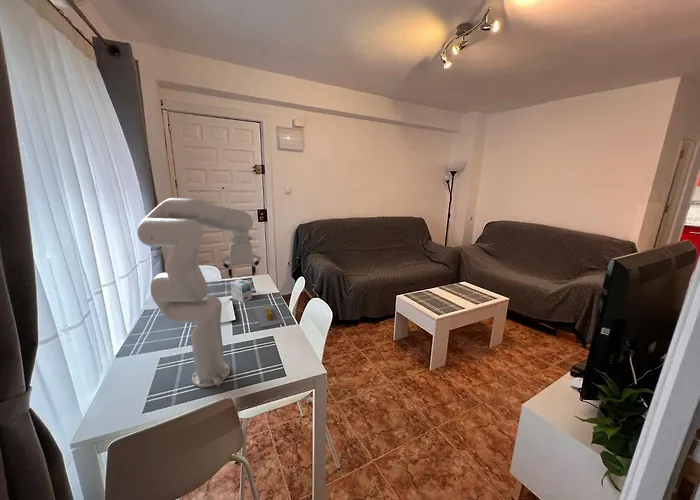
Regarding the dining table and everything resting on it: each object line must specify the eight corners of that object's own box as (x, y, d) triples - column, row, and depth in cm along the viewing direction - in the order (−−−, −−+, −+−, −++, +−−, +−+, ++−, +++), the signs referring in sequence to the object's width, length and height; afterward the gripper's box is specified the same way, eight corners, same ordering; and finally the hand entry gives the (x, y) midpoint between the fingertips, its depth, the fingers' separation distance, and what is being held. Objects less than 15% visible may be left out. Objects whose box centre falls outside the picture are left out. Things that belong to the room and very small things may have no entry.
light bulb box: (252, 298, 167) (251, 282, 164) (242, 303, 161) (241, 285, 159) (240, 294, 172) (239, 278, 170) (231, 298, 167) (229, 281, 164)
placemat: (283, 323, 140) (283, 322, 140) (261, 328, 135) (260, 327, 135) (274, 305, 159) (274, 304, 159) (253, 309, 154) (253, 308, 154)
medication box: (263, 310, 151) (262, 304, 150) (268, 309, 152) (267, 303, 151) (267, 321, 141) (266, 313, 140) (273, 319, 142) (272, 312, 141)
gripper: (258, 237, 133) (260, 271, 136) (218, 239, 125) (221, 275, 129) (261, 240, 126) (263, 276, 130) (219, 242, 119) (222, 280, 122)
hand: (242, 276), depth 129 cm, fingers open, 9 cm apart
